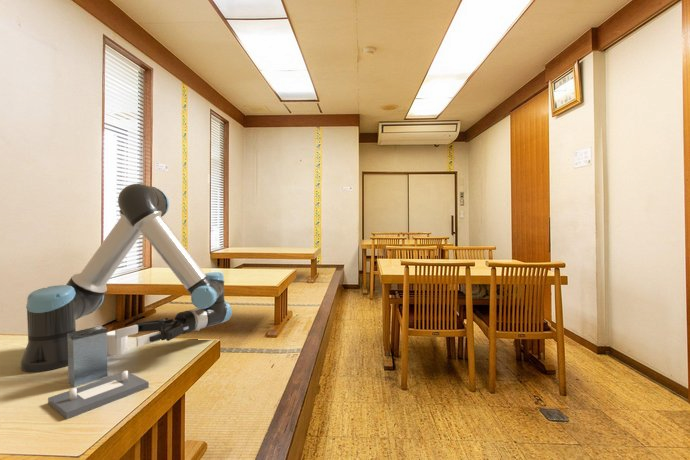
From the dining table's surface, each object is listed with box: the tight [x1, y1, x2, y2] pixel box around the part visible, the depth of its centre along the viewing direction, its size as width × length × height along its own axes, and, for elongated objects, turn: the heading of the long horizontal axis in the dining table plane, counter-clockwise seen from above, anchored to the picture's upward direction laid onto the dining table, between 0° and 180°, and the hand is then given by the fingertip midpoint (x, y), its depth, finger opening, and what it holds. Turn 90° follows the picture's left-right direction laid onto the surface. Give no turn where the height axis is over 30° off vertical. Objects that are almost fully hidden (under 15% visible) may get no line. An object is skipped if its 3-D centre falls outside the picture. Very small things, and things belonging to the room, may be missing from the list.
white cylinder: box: [107, 329, 129, 357], centre depth 119 cm, size 7×7×7 cm
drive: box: [67, 325, 109, 388], centre depth 99 cm, size 4×8×14 cm, turn 146°
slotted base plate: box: [47, 370, 150, 420], centre depth 90 cm, size 12×18×4 cm, turn 146°
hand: (125, 338), depth 107 cm, fingers open, 13 cm apart
